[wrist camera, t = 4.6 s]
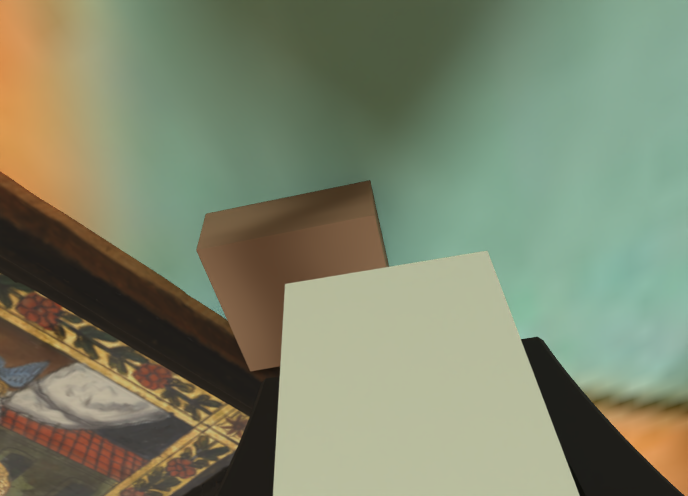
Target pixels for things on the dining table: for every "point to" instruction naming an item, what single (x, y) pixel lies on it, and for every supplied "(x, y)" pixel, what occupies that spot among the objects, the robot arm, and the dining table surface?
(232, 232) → the walnut base
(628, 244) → the dining table surface
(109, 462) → the framed icon painting
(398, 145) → the dining table surface
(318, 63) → the dining table surface
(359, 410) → the sage block
